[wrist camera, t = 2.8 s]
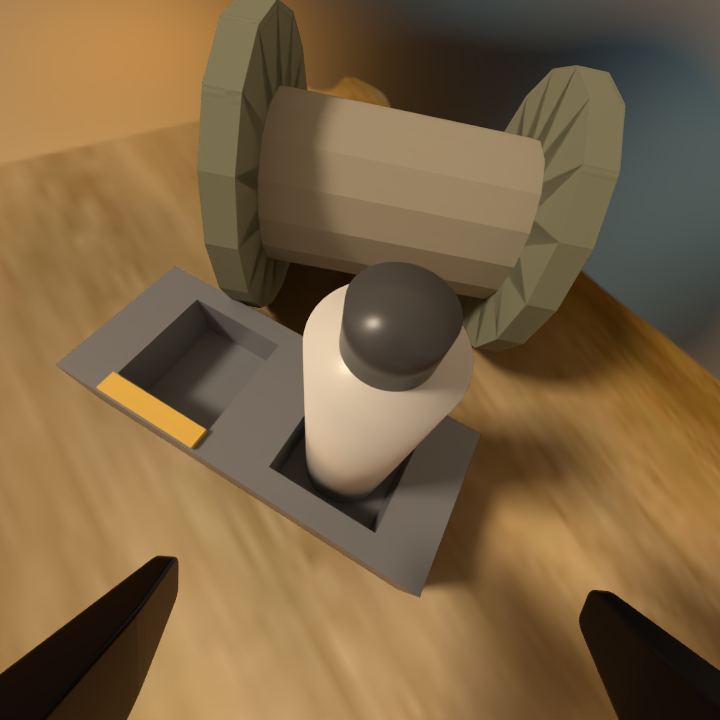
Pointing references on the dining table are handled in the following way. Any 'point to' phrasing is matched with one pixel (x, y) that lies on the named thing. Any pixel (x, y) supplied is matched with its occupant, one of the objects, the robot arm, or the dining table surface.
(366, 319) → the bottle
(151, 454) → the dining table surface
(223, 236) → the spool
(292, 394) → the compartment tray
